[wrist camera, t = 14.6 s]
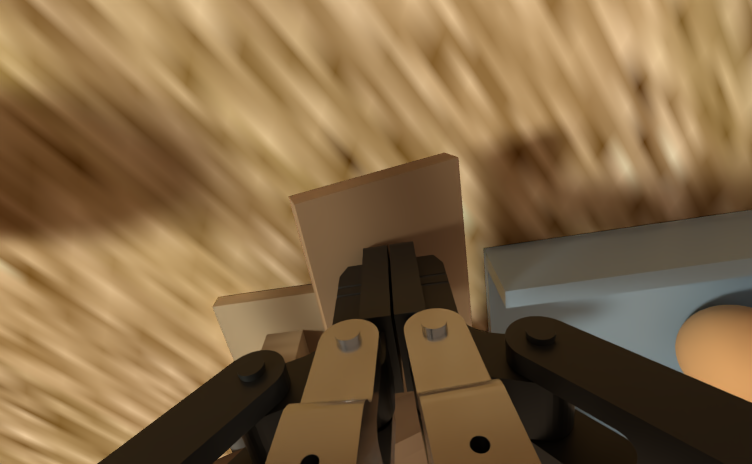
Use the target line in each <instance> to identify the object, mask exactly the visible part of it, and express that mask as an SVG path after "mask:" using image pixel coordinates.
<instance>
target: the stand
mask: <svg viewBox="0 0 752 464" xmlns="http://www.w3.org/2000/svg"><path fill="white" fill-rule="evenodd" d="M213 310H214V312H215V315H216V317H217V320H218V322H219V325H220V327H221V330H222V332H223V335H224V337H225V340H226V342H227V345H228V347H229V350H230V352H231V355H232V357H233V360H234V361H235V360H237V359H238V358H240V357H242V356H244V355H246V354H248V353H251V352H254V351H259V350H272V351H275V352H278V353H279V354H281V355H282V357H283V358H284V361H285V363H287V362H290V361H293V360H295V359H298V358H301V357H304V356H306V355H308V354H310V353H312V352H314V351H316V349H317V345H318V342H319V339H320V337H321V335H322V334H323V333H324V332H325V330H324V326H323V322H322V319H321V315H320V311H319V308H318V304H317V300H316V296H315V293H314V289H313V285H312V284H308V285H301V286H294V287H287V288H280V289H273V290H266V291H259V292H252V293H245V294H238V295H231V296H224V297H218V298H217V300H216V302H215V303H214V305H213Z"/></svg>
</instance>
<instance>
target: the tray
mask: <svg viewBox="0 0 752 464" xmlns="http://www.w3.org/2000/svg"><path fill="white" fill-rule="evenodd" d="M484 264H485V281H486V297H487V313H488V329H489V332H491V333H501V334H505V332H506V329H507V328H508V326H509V325H510V324H511V323H512V322H514V321H516V320H518V319H520V318H524V317H529V316H544V317H549V318H553V319H556V320H559V321H562V322H564V323H566V324H569V325H571V326H573V327H576V328H578V329H580V330H583V331H585V332H587V333H590V334H592V335H594V336H597V337H599V338H601V339H604V340H606V341H608V342H611V343H613V344H615V345H618V346H620V347H622V348H625V349H627V350H629V351H632V352H634V353H637V354H639V355H641V356H644V357H646V358H648V359H651V360H653V361H655V362H658V363H660V364H662V365H665V366H667V367H669V368H672V369H674V370H676V371H679V372H681V373H683V371H682V370H681V368H680V366H679V363H678V361H677V357H676V351H675V343H676V337H677V334H678V332H679V330H680V328H681V326H682V325H683V324H684V322H685V321H686V320H687V319H688V318H689V317H691V316H692V315H693V314H695V313H697V312H698V311H700V310H703V309H706V308H708V307H712V306H717V305H741V306H747V307H751V308H752V210H747V211H740V212H733V213H726V214H719V215H712V216H705V217H698V218H691V219H684V220H677V221H671V222H664V223H657V224H650V225H643V226H636V227H629V228H622V229H615V230H608V231H601V232H594V233H587V234H580V235H573V236H566V237H559V238H552V239H545V240H538V241H531V242H524V243H517V244H510V245H504V246H497V247H490V248H484ZM683 374H684V373H683ZM575 409H576V410H578V411H580V412H582V413H583V414H585V415H587V416H588V417H590V418H592V419H594V420H595V421H597V422H599V423H601V424H602V425H604V426H606V427H607V428H609V429H611V430H613V431H614V432H616V433H618V434H620V435H621V436H623V437H625V436H624V435H623V434H622V433H620V432H619V431H617V430H616V429H614V428H612V427H610V426H609V425H607V424H605V423H604V422H602V421H600V420H598V419H597V418H595V417H593V416H591V415H590V414H588V413H586V412H584V411H583V410H581V409H579V408H577V407H576V406H575ZM625 438H626V437H625ZM626 439H627V438H626Z"/></svg>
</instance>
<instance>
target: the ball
mask: <svg viewBox="0 0 752 464" xmlns="http://www.w3.org/2000/svg"><path fill="white" fill-rule="evenodd" d="M675 351H676V357H677V361H678V363H679V366H680V368H681V370H682V371H683V373H684V374H686V375H688V376H690V377H693V378H695V379H697V380H700V381H702V382H704V383H707V384H709V385H711V386H714V387H716V388H718V389H721V390H723V391H726V392H728V393H730V394H733V395H735V396H737V397H740V398H742V399H744V400H747V401H749V402H751V403H752V308H751V307H747V306H741V305H717V306H712V307H708V308H706V309H703V310H700V311H698V312H697V313H695V314H693V315H692V316H691V317H689V318H688V319H687V320H686V321H685V322H684V324H683V325H682V326H681V328H680V330H679V332H678V334H677V337H676V343H675Z"/></svg>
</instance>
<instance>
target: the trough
mask: <svg viewBox="0 0 752 464" xmlns="http://www.w3.org/2000/svg"><path fill="white" fill-rule="evenodd" d="M289 200H290V204H291V207H292V211H293V215H294V219H295V222H296V226H297V230H298V233H299V237H300V241H301V245H302V248H303V252H304V256H305V259H306V263H307V267H308V271H309V274H310V278H311V282H312V285H313V289H314V293H315V296H316V300H317V304H318V308H319V311H320V315H321V319H322V322H323V326H324V330H325V331H326V330H327V329H328V328H329V327H331V326H332V324H333V317H334V311H335V304H336V298H337V291H338V284H339V278H340V276H341V275H342V273H343V272H344V271H345V270H346V268H347V267H349V266H357V265H362V258H363V248H369V247H376V246H383V245H387V247H388V252H389V257H390V248H389V245H390V244H397V243H404V242H410V241H413V243H414V248H415V254H416V257H420V256H427V255H434V256H436V257H437V258H438V259H439V260H441V261H442V262H443V264H444V267H445V271H446V274H447V277H448V281H449V284H450V287H451V291H452V294H453V297H454V300H455V304H456V307H457V310H458V314H459V315H460V316H461V317H462V318H463V319H464V320H465V322H466V324H467V325H469V326H471V327H472V318H471V306H470V294H469V282H468V270H467V257H466V245H465V233H464V221H463V209H462V196H461V184H460V172H459V160H458V157H456V156H453V155H450V154H447V153H441V154H438V155H434V156H431V157H427V158H424V159H420V160H416V161H413V162H409V163H406V164H402V165H399V166H395V167H392V168H388V169H384V170H381V171H377V172H374V173H370V174H367V175H363V176H360V177H356V178H352V179H349V180H345V181H342V182H338V183H335V184H331V185H328V186H324V187H320V188H317V189H313V190H310V191H306V192H303V193H299V194H296V195H292V196H289ZM402 371H403V384H404V392H403V393H395V411H394V413H395V418H396V435H395V463H394V464H427V460H426V455H425V450H424V445H423V440H422V435H421V431H420V426H419V421H418V415H417V409H416V402H415V396H414V391H410V392H407V388H406V382H405V376H404V370H403V365H402ZM245 447H246V446H245V444H244V441H243V439H242V437H241V438H240V439H239V440H238V441H237V442H236V443H235V444H233V445H232V446H231V447H230V448H231V450H232V453H231V454H229V455H226V456H224V457H222V458H220V459H217V460H216V461H215V462H214V463H213V464H227V463H228V462H230V461H231V460H232V459H233V458H234V457H235V456H236V455H237V454H238V453H239V452H240V451H241V450H242V449H243V448H245Z"/></svg>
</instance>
